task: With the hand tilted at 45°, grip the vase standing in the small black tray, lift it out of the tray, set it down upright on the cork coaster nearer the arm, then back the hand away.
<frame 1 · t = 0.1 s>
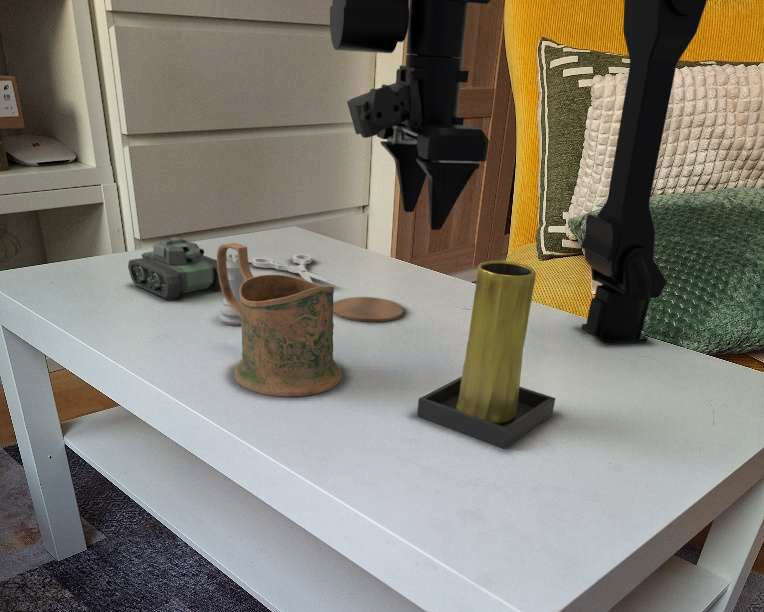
hand: (421, 220, 82), 15 cm above the table, tool pointing down, fingers open, 9 cm apart
toy tank: (181, 289, 105), on the table
black tray: (485, 415, 74), on the table
mug: (271, 367, 82), on the table
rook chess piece: (237, 322, 95), on the table
scissors: (299, 275, 114), on the table
vase: (485, 413, 74), resting on black tray
coaster: (367, 310, 101), on the table
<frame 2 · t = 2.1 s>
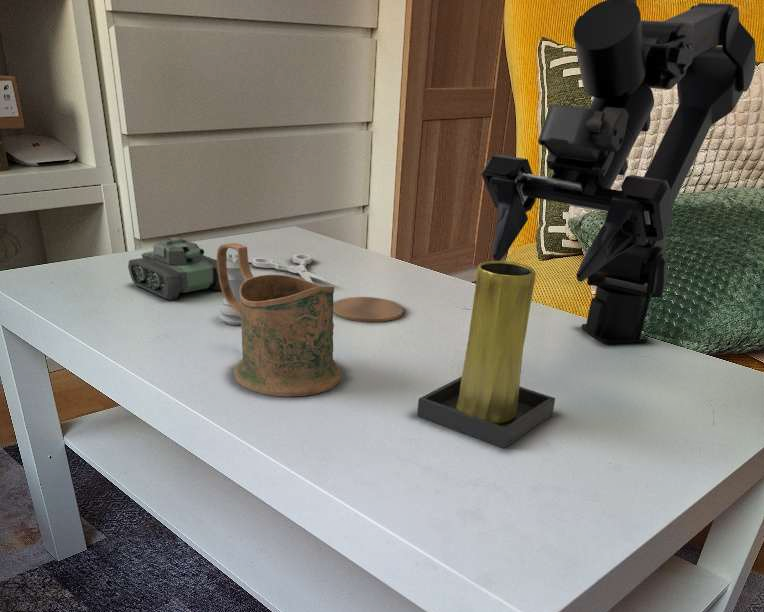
hand: (535, 268, 72), 13 cm above the table, tool tilted 45°, fingers open, 9 cm apart
nothing on the table moved.
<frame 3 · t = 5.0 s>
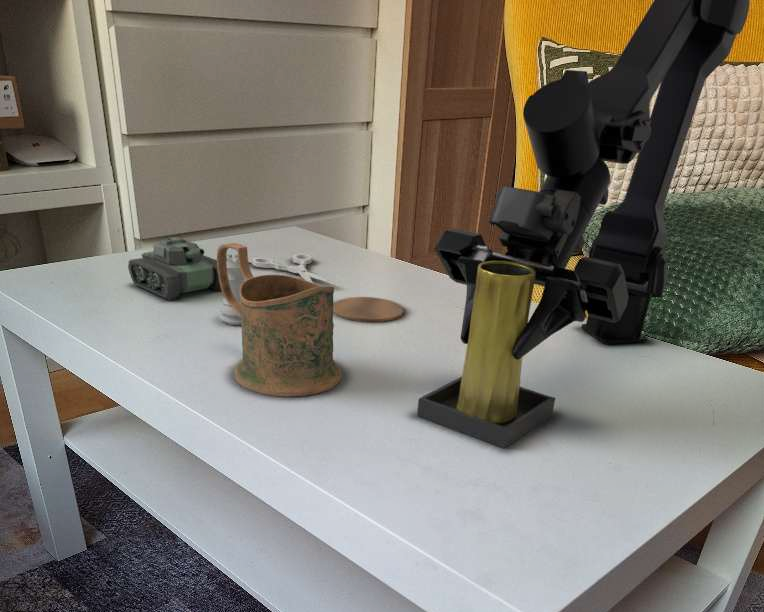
hand: (488, 349, 70), 7 cm above the table, tool tilted 45°, fingers closed on vase, 5 cm apart
vase: (486, 413, 74), resting on black tray, touching gripper
everything else where it was.
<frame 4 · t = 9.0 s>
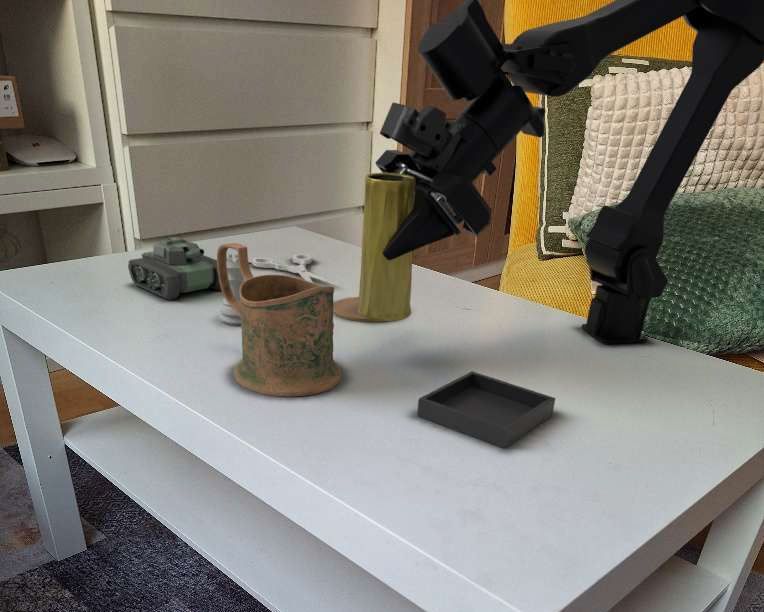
hand: (375, 250, 79), 12 cm above the table, tool tilted 45°, fingers closed on vase, 5 cm apart
vase: (384, 314, 84), point 5 cm above the table, touching gripper
everything else where it was.
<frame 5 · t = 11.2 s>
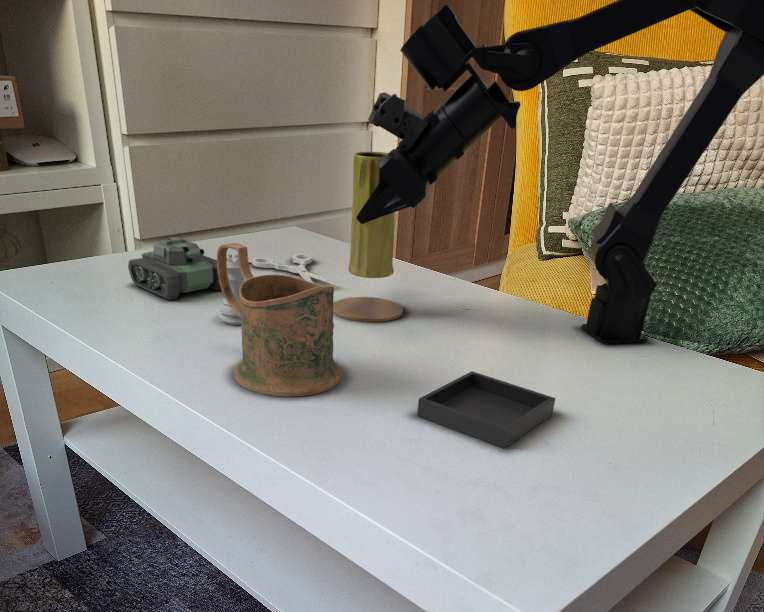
hand: (362, 216, 94), 12 cm above the table, tool tilted 45°, fingers closed on vase, 5 cm apart
vase: (370, 273, 98), point 5 cm above the table, touching gripper
everything else where it was.
when the fingers open (7 cm above the table, at t = 13.0 s): vase stays where it is, resting on coaster.
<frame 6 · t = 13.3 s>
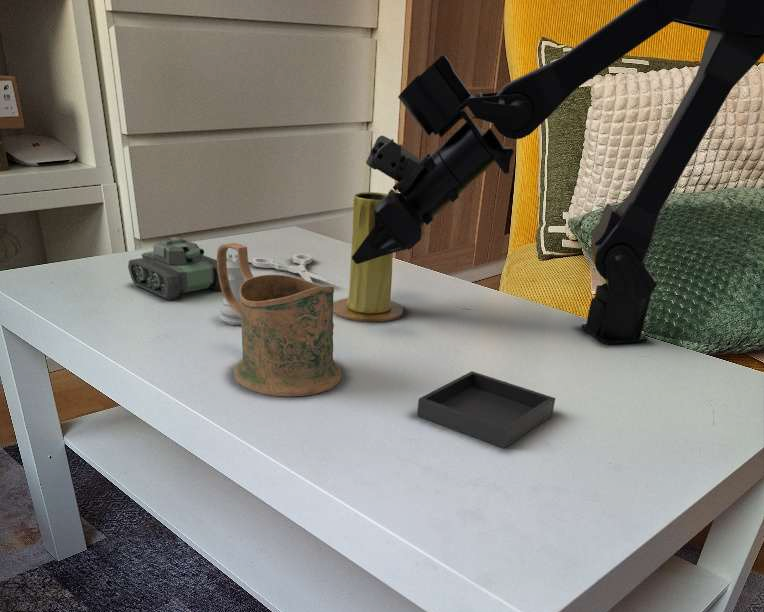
hand: (359, 253, 97), 8 cm above the table, tool tilted 45°, fingers open, 8 cm apart
vase: (369, 309, 101), resting on coaster
everything else where it was.
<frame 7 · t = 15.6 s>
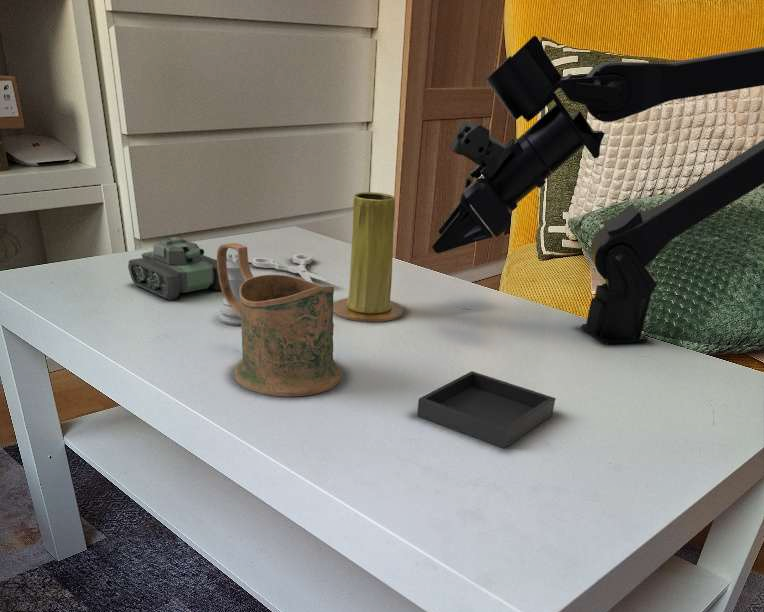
hand: (437, 242, 95), 10 cm above the table, tool tilted 45°, fingers open, 9 cm apart
nothing on the table moved.
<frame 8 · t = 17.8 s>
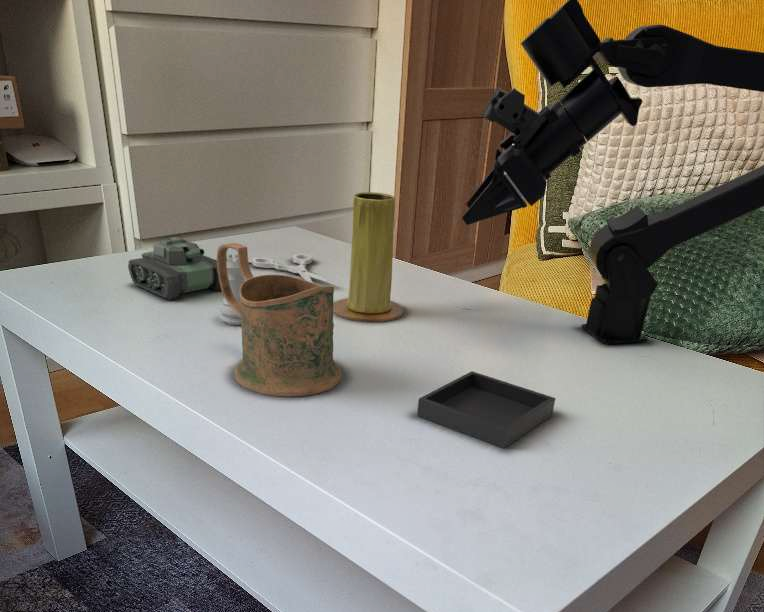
hand: (466, 214, 92), 14 cm above the table, tool tilted 45°, fingers open, 9 cm apart
nothing on the table moved.
at the end: vase 0.2 cm off-centre on the coaster, point 0.2 cm above the coaster's base; vase tilted 0°; the gripper is holding nothing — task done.
